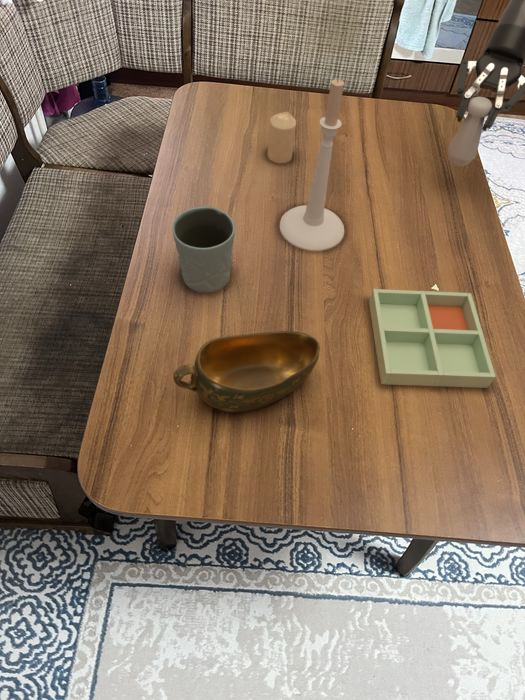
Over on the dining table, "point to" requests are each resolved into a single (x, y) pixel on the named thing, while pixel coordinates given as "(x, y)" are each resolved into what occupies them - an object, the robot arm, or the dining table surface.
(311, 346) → the creamer
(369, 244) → the dining table surface
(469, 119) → the salt shaker
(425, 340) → the grid
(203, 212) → the grey green cup
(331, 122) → the candlestick
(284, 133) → the candle
